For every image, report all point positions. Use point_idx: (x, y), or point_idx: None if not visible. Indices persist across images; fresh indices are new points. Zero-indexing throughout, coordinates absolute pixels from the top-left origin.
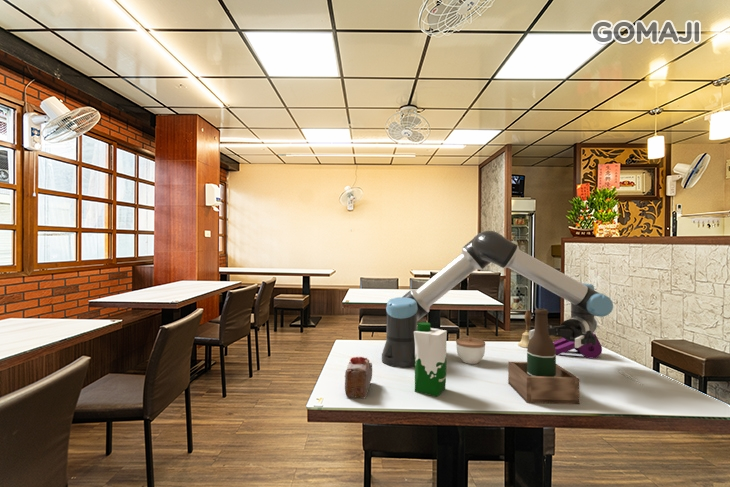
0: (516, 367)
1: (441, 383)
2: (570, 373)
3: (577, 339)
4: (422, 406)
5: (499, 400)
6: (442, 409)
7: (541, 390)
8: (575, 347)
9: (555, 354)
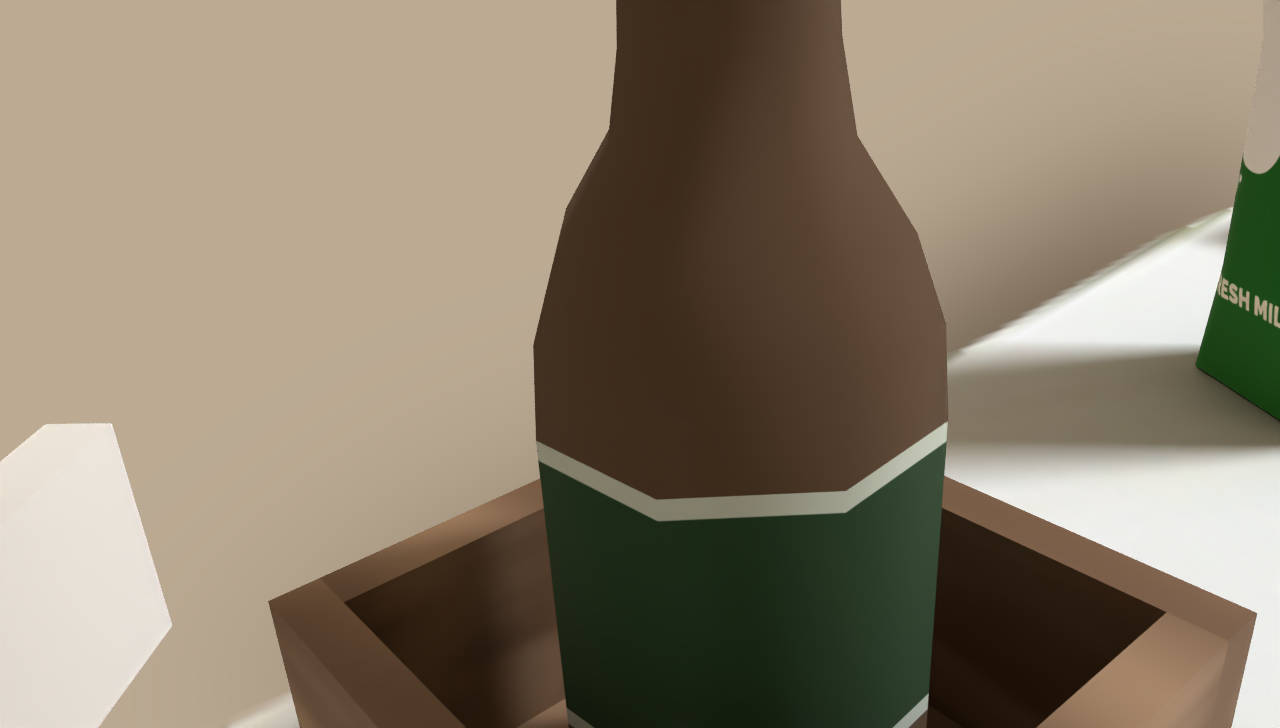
0: (989, 505)
1: (1218, 307)
2: (366, 696)
3: (47, 435)
4: (1110, 297)
5: None
6: (1025, 318)
7: None
8: (154, 618)
9: (538, 428)
